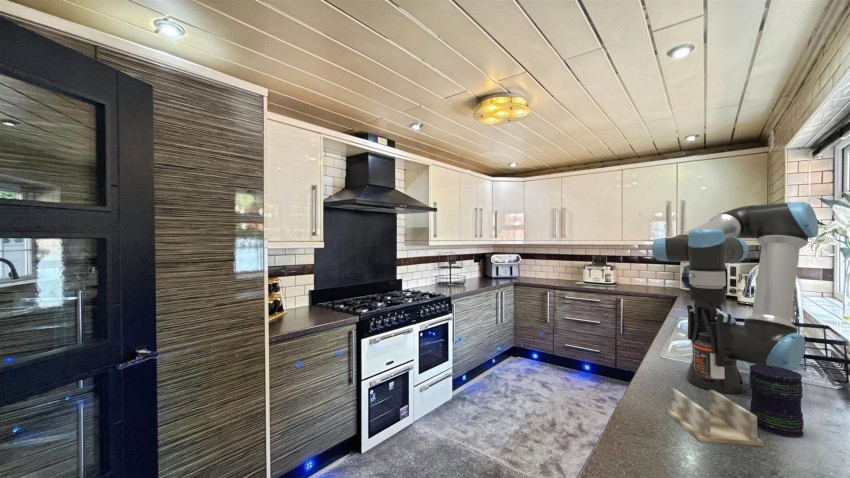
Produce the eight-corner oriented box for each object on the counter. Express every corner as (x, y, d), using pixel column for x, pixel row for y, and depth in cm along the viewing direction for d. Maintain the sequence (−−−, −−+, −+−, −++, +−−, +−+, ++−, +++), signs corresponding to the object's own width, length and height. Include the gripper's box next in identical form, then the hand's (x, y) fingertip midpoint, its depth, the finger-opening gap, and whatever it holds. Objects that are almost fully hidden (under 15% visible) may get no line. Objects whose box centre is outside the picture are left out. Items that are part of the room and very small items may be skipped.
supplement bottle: (688, 372, 93) (688, 331, 93) (708, 371, 94) (708, 330, 94) (708, 381, 87) (707, 337, 87) (730, 380, 88) (729, 336, 88)
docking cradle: (665, 411, 99) (665, 387, 99) (719, 414, 97) (718, 390, 97) (699, 441, 84) (699, 413, 84) (763, 445, 82) (762, 416, 82)
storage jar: (811, 442, 83) (809, 381, 83) (756, 431, 88) (755, 373, 88) (795, 424, 91) (793, 368, 92) (745, 414, 96) (744, 362, 97)
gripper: (671, 282, 101) (672, 360, 100) (716, 291, 82) (718, 387, 81) (699, 282, 100) (700, 361, 99) (751, 291, 81) (753, 389, 80)
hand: (708, 373), depth 90 cm, fingers closed on supplement bottle, 6 cm apart
